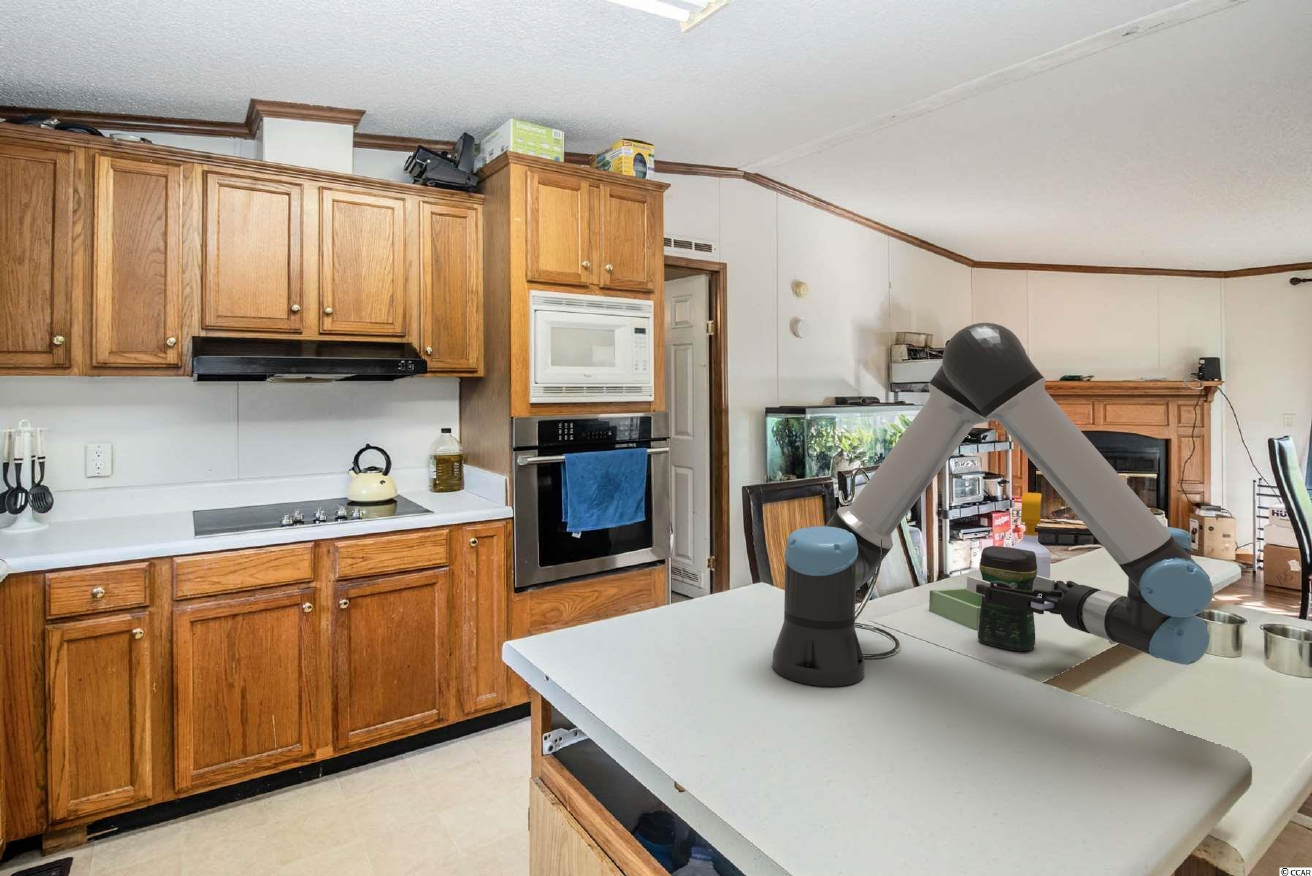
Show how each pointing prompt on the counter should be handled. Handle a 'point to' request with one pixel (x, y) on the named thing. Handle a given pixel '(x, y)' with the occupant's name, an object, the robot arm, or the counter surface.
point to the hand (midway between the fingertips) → (996, 581)
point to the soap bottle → (1034, 533)
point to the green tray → (957, 605)
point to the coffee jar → (1002, 621)
